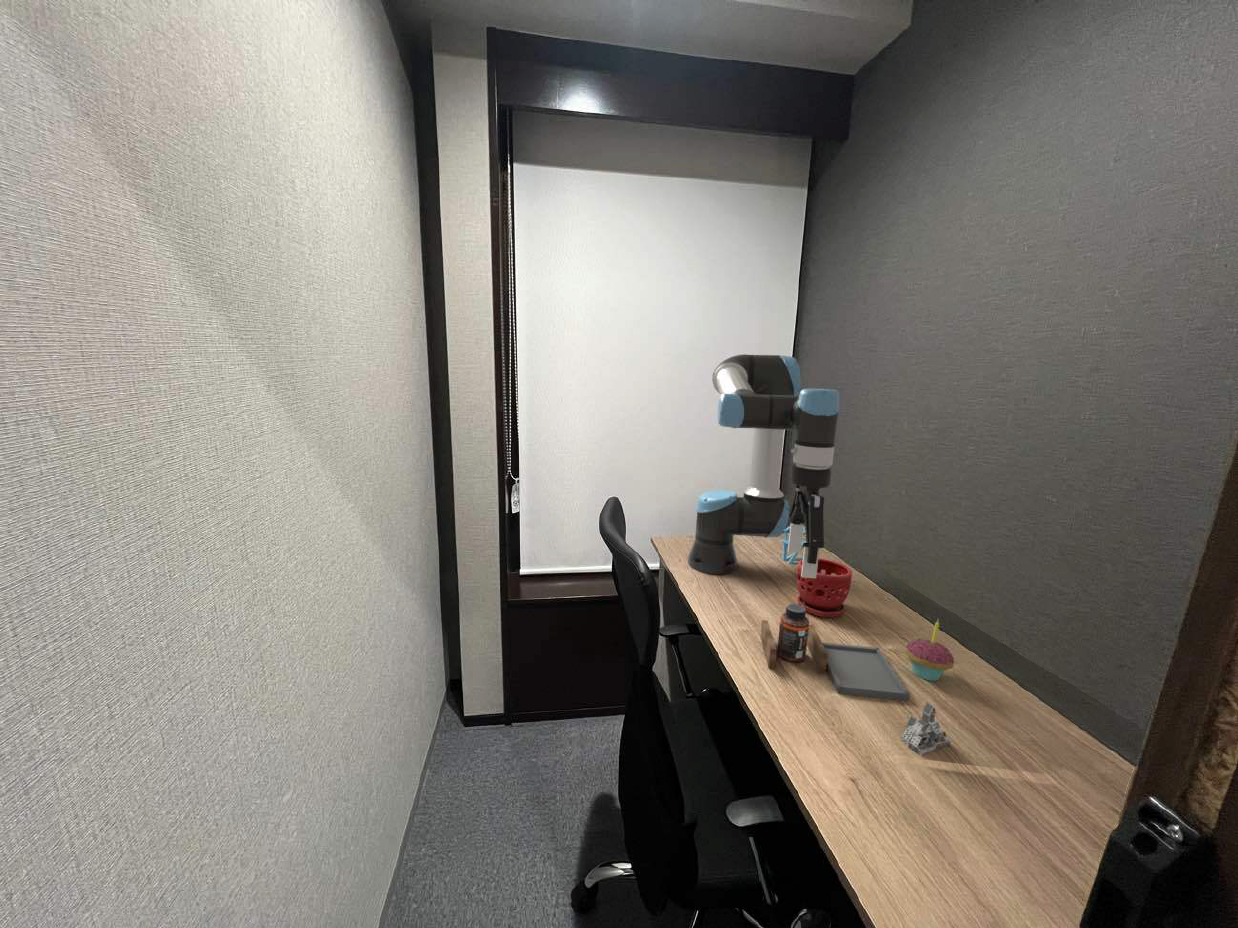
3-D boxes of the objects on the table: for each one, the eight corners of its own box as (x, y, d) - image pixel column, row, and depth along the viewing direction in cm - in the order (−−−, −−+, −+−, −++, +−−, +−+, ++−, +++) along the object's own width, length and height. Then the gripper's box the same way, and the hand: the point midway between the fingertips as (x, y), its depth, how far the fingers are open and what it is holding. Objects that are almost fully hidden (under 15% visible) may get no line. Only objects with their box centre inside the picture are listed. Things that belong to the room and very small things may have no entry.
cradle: (760, 637, 116) (762, 620, 115) (811, 642, 115) (813, 624, 114) (768, 668, 105) (770, 648, 104) (825, 674, 103) (827, 654, 102)
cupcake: (910, 657, 110) (918, 607, 108) (955, 675, 104) (965, 622, 102) (897, 673, 104) (906, 621, 102) (944, 693, 98) (954, 637, 96)
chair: (776, 559, 164) (779, 524, 162) (794, 555, 168) (797, 521, 166) (794, 568, 157) (798, 532, 155) (812, 564, 161) (816, 528, 159)
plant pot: (858, 616, 128) (864, 573, 126) (817, 624, 123) (822, 579, 121) (821, 594, 140) (826, 554, 138) (783, 600, 135) (787, 559, 133)
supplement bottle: (807, 664, 106) (813, 616, 104) (778, 660, 108) (783, 612, 105) (803, 649, 112) (808, 603, 110) (775, 645, 113) (780, 599, 111)
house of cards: (912, 711, 93) (918, 675, 92) (957, 745, 85) (965, 705, 84) (875, 722, 90) (881, 684, 89) (919, 758, 82) (926, 717, 81)
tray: (817, 647, 113) (817, 641, 113) (877, 653, 111) (878, 647, 111) (837, 693, 97) (838, 686, 97) (908, 700, 96) (909, 693, 95)
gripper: (781, 454, 114) (772, 542, 118) (806, 478, 90) (794, 587, 94) (815, 455, 113) (805, 544, 117) (850, 480, 89) (836, 591, 93)
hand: (800, 563), depth 105 cm, fingers open, 13 cm apart
